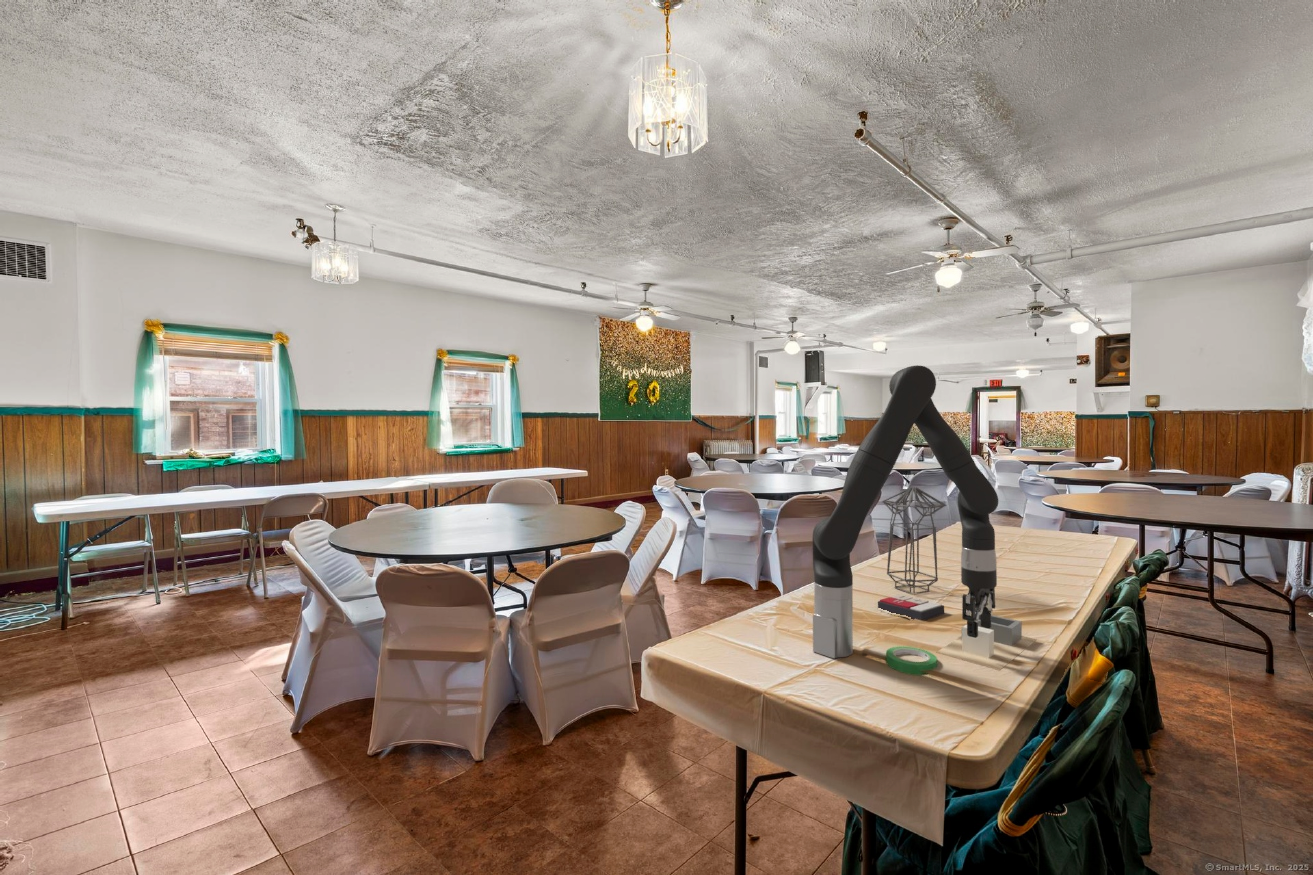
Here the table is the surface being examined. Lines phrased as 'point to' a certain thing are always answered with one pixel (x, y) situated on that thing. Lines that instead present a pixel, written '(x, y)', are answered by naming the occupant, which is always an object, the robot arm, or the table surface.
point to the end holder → (1005, 630)
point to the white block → (979, 642)
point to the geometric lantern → (912, 534)
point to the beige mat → (997, 661)
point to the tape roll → (910, 666)
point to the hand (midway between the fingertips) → (979, 632)
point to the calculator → (911, 607)
